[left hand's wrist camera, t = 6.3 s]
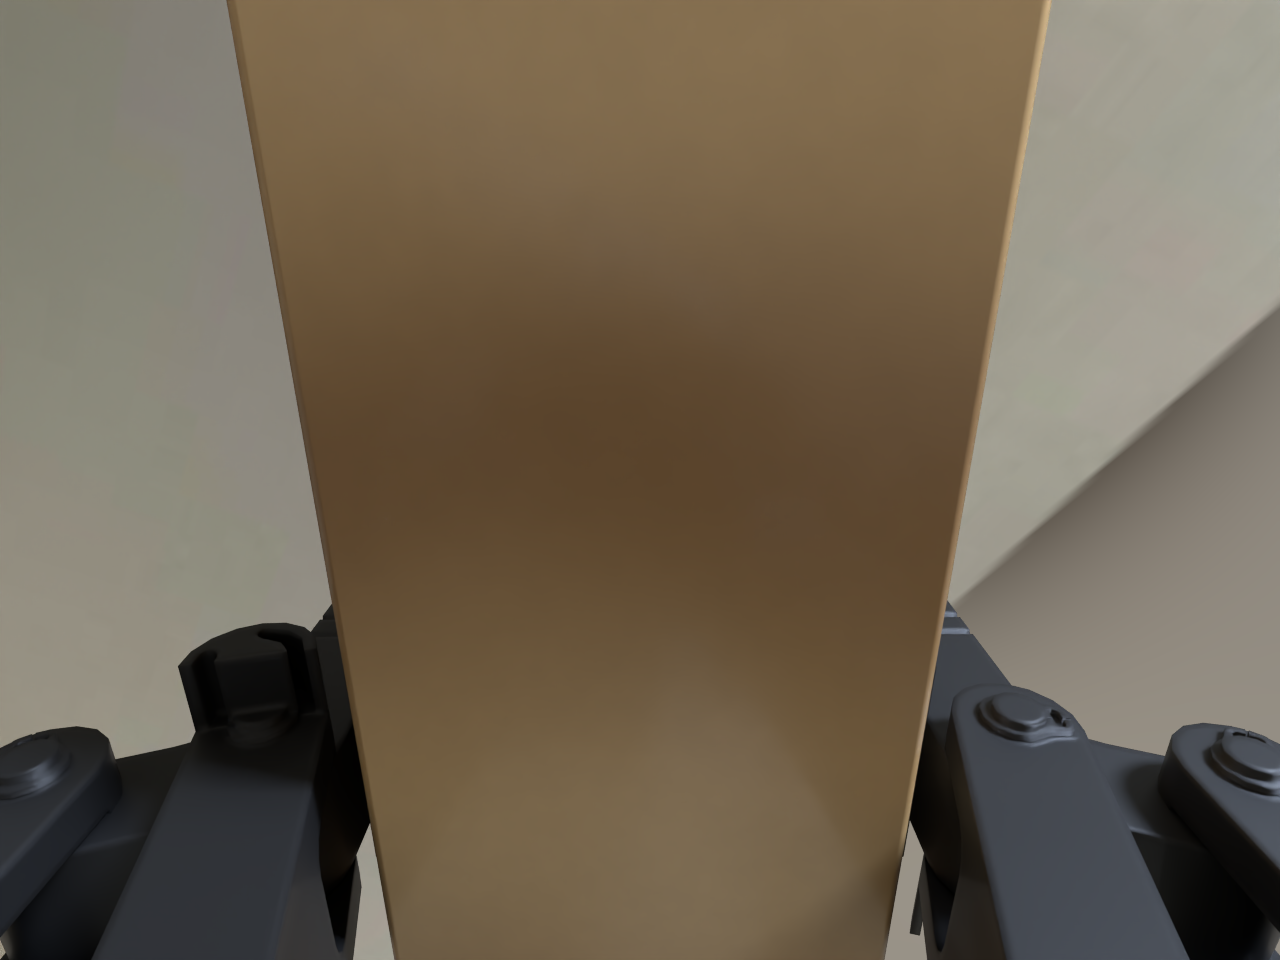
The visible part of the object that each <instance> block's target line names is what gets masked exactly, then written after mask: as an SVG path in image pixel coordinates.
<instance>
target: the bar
mask: <svg viewBox="0 0 1280 960" xmlns="http://www.w3.org/2000/svg"><path fill="white" fill-rule="evenodd" d="M1051 2H1052V0H227V6H228V11H229V17H230V23H231V28H232V34H233V40H234V46H235V51H236V57H237V63H238V68H239V74H240V80H241V86H242V91H243V97H244V103H245V108H246V114H247V120H248V126H249V131H250V137H251V143H252V148H253V154H254V160H255V166H256V171H257V177H258V183H259V188H260V194H261V200H262V206H263V211H264V217H265V223H266V228H267V234H268V240H269V246H270V251H271V257H272V263H273V268H274V274H275V280H276V285H277V291H278V297H279V303H280V308H281V314H282V320H283V325H284V331H285V337H286V343H287V348H288V354H289V360H290V365H291V371H292V377H293V383H294V388H295V394H296V400H297V405H298V411H299V417H300V423H301V428H302V434H303V440H304V445H305V451H306V457H307V463H308V468H309V474H310V480H311V485H312V491H313V497H314V503H315V508H316V514H317V520H318V525H319V531H320V537H321V543H322V548H323V554H324V560H325V565H326V571H327V577H328V583H329V588H330V594H331V600H332V605H333V611H334V617H335V623H336V628H337V634H338V640H339V645H340V651H341V657H342V663H343V668H344V674H345V680H346V685H347V691H348V697H349V702H350V708H351V714H352V720H353V725H354V731H355V737H356V742H357V748H358V754H359V760H360V765H361V771H362V777H363V782H364V788H365V794H366V800H367V805H368V811H369V817H370V822H371V828H372V834H373V840H374V845H375V851H376V857H377V862H378V868H379V874H380V880H381V885H382V891H383V897H384V902H385V908H386V914H387V920H388V925H389V931H390V937H391V942H392V948H393V954H394V960H884V959H885V953H886V947H887V941H888V936H889V930H890V924H891V919H892V913H893V907H894V901H895V896H896V890H897V884H898V878H899V873H900V867H901V861H902V856H903V850H904V844H905V838H906V833H907V827H908V821H909V815H910V810H911V804H912V798H913V793H914V787H915V781H916V775H917V770H918V764H919V758H920V752H921V747H922V741H923V735H924V730H925V724H926V718H927V712H928V707H929V701H930V695H931V689H932V684H933V678H934V672H935V666H936V661H937V655H938V649H939V644H940V638H941V632H942V626H943V621H944V615H945V609H946V603H947V598H948V592H949V586H950V581H951V575H952V569H953V563H954V558H955V552H956V546H957V540H958V535H959V529H960V523H961V517H962V512H963V506H964V500H965V495H966V489H967V483H968V477H969V472H970V466H971V460H972V454H973V449H974V443H975V437H976V432H977V426H978V420H979V414H980V409H981V403H982V397H983V391H984V386H985V380H986V374H987V368H988V363H989V357H990V351H991V346H992V340H993V334H994V328H995V323H996V317H997V311H998V305H999V300H1000V294H1001V288H1002V283H1003V277H1004V271H1005V265H1006V260H1007V254H1008V248H1009V242H1010V237H1011V231H1012V225H1013V219H1014V214H1015V208H1016V202H1017V197H1018V191H1019V185H1020V179H1021V174H1022V168H1023V162H1024V156H1025V151H1026V145H1027V139H1028V134H1029V128H1030V122H1031V116H1032V111H1033V105H1034V99H1035V93H1036V88H1037V82H1038V76H1039V71H1040V65H1041V59H1042V53H1043V48H1044V42H1045V36H1046V30H1047V25H1048V19H1049V13H1050V7H1051Z"/></svg>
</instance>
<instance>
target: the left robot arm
mask: <svg viewBox="0 0 1280 960" xmlns="http://www.w3.org/2000/svg"><path fill="white" fill-rule="evenodd" d="M178 668H179V672H180V676H181V679H182V683H183V687H184V690H185V694H186V698H187V701H188V705H189V709H190V712H191V716H192V720H193V723H194V727H195V731H196V732H195V734H194V736H193V739H192V741H191V742H190V743H187V744H183V745H179V746H176V747H172V748H167V749H162V750H157V751H153V752H148V753H143V754H138V755H134V756H129V757H124V758H120V759H115V757H114V754H113V751H112V748H111V745H110V742H109V739H108V738H107V737H106V736H105V735H104V734H102V733H101V732H100V731H99V730H97V729H92V728H85V727H78V726H75V727H67V728H59V729H50V730H46V731H42V732H38V733H36V734H34V735H32V734H31V735H28V736H25V737H22V738H19V739H17V740H15V741H13V742H12V743H10V744H8V745H5V746H3V747H1V748H0V940H1V943H2V945H3V947H4V949H5V952H6V953H5V954H4V956H3V957H2V958H1V959H0V960H353V955H354V946H355V938H356V929H357V921H358V912H359V903H360V895H361V880H360V872H359V866H358V861H357V856H356V854H357V852H358V850H359V847H360V845H361V843H362V840H363V838H364V836H365V833H366V831H367V829H368V826H369V824H371V822H370V817H369V811H368V805H367V800H366V794H365V788H364V782H363V777H362V771H361V765H360V760H359V754H358V748H357V742H356V737H355V731H354V725H353V720H352V714H351V708H350V702H349V697H348V691H347V685H346V680H345V674H344V668H343V663H342V657H341V651H340V645H339V640H338V634H337V628H336V623H335V617H334V611H333V605H332V604H331V606H330V607H329V608H328V610H327V611H326V612H325V614H324V615H323V620H319V622H318V623H317V624H316V626H315V627H314V628H313V630H312V631H311V632H310V631H309V630H307V629H306V628H305V627H302V626H297V625H293V624H289V623H262V624H258V625H253V626H248V627H243V628H239V629H235V630H233V631H230V632H228V633H225V634H222V635H220V636H217V637H215V638H212V639H210V640H209V641H207V642H206V643H204V644H202V645H201V646H199V647H198V648H196V649H194V650H193V651H191V652H190V653H189V655H188V656H187V657H186V658H185V659H184V660H183V661H182V662H181V663H180V665H179V666H178ZM909 821H911V824H912V826H913V828H914V831H915V833H916V835H917V838H918V840H919V842H920V845H921V847H922V849H923V852H924V856H923V861H922V867H921V872H920V877H919V882H918V888H917V893H916V899H915V904H914V909H913V914H912V921H911V928H910V934H915V935H920V932H921V927H922V922H923V927H924V936H925V944H926V953H927V960H1280V955H1279V954H1278V953H1277V952H1276V951H1275V948H1276V945H1277V943H1278V941H1279V939H1280V744H1278V743H1276V742H1274V741H1272V740H1270V739H1268V738H1267V737H1265V736H1263V735H1260V734H1257V733H1254V732H1251V731H1245V729H1241V728H1236V727H1232V726H1225V725H1217V724H1208V723H1200V724H1193V725H1186V726H1183V727H1181V728H1180V729H1179V730H1178V731H1176V732H1175V733H1174V734H1173V735H1172V737H1171V740H1170V743H1169V746H1168V749H1167V752H1166V755H1165V756H1162V755H1157V754H1152V753H1147V752H1143V751H1138V750H1133V749H1128V748H1124V747H1119V746H1114V745H1109V744H1105V743H1101V742H1098V741H1094V740H1090V739H1088V737H1087V735H1086V733H1085V731H1084V729H1083V728H1082V727H1081V725H1080V724H1079V723H1078V721H1077V720H1076V719H1075V718H1074V716H1073V715H1072V714H1071V713H1069V712H1068V711H1067V710H1065V709H1064V708H1063V707H1061V706H1060V705H1058V704H1057V703H1056V702H1054V701H1053V700H1051V699H1049V698H1046V697H1044V696H1042V695H1040V694H1037V693H1035V692H1033V691H1031V690H1028V689H1024V688H1020V687H1016V686H1012V685H1011V684H1010V683H1009V682H1008V680H1007V679H1006V678H1005V676H1004V675H1003V674H1002V672H1001V671H1000V670H999V668H998V667H997V666H996V664H995V663H994V662H993V660H992V659H991V658H990V656H989V655H988V654H987V652H986V651H985V650H984V648H983V647H982V646H981V644H980V643H979V642H978V640H977V639H976V638H975V636H974V635H973V634H970V632H969V629H968V627H967V626H966V625H965V623H964V622H963V621H962V619H961V618H960V617H957V613H956V611H955V610H954V609H953V607H952V606H951V605H950V603H949V602H948V601H947V603H946V609H945V615H944V621H943V626H942V632H941V638H940V644H939V649H938V655H937V661H936V666H935V672H934V678H933V684H932V689H931V695H930V701H929V707H928V712H927V718H926V724H925V730H924V735H923V741H922V747H921V752H920V758H919V764H918V770H917V775H916V781H915V787H914V793H913V798H912V804H911V810H910V815H909ZM909 821H908V827H909ZM908 827H907V833H908ZM371 830H372V828H371ZM907 833H906V838H905V844H906V839H907ZM372 836H373V834H372ZM373 842H374V840H373ZM905 844H904V850H905ZM374 847H375V845H374ZM904 850H903V856H904ZM375 853H376V851H375ZM903 856H902V857H903Z"/></svg>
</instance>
